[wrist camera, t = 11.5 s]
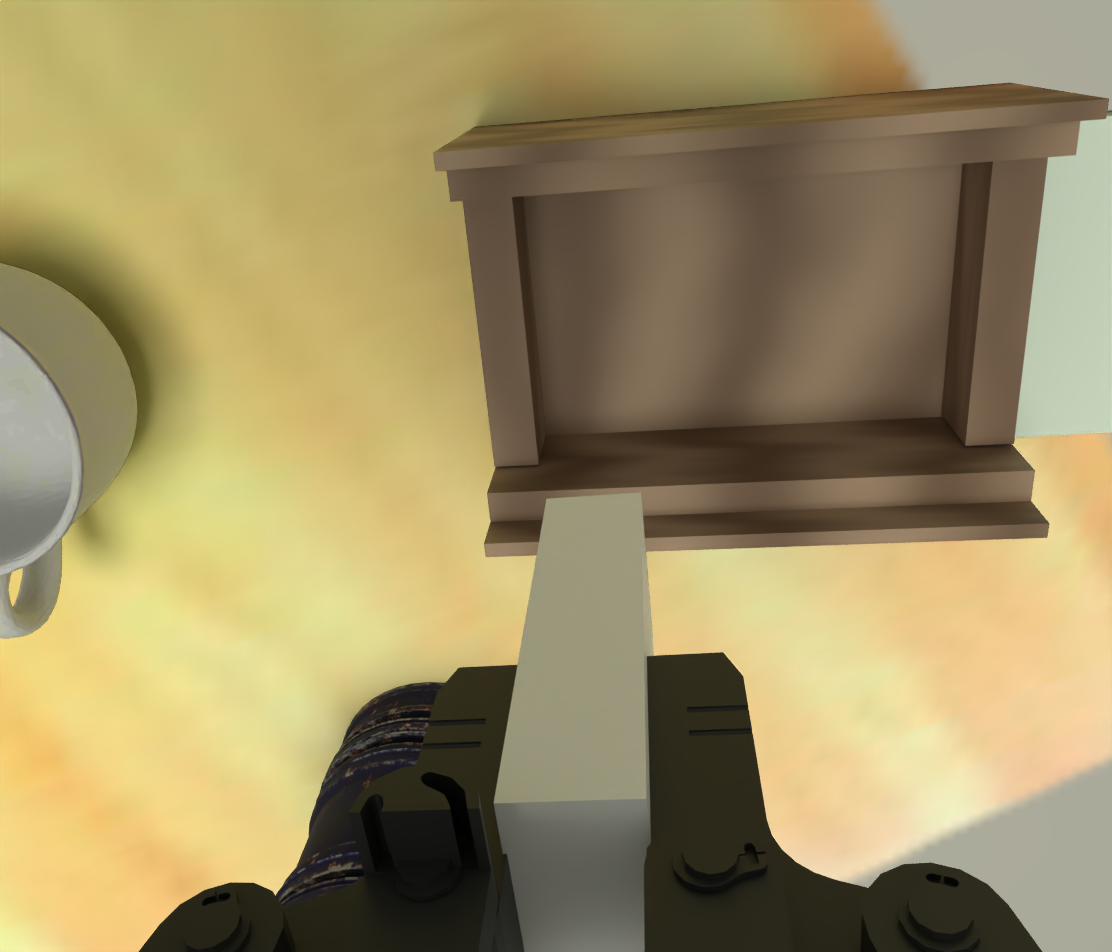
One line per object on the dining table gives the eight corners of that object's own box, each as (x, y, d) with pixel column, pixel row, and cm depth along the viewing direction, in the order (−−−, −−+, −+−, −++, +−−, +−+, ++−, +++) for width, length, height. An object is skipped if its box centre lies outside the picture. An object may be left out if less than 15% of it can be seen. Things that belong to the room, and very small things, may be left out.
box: (512, 464, 40) (485, 556, 33) (474, 127, 34) (433, 152, 27) (973, 443, 38) (1047, 537, 31) (1009, 82, 32) (1109, 98, 26)
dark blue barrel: (312, 696, 46) (172, 980, 32) (514, 664, 44) (458, 950, 30) (377, 854, 49) (278, 1166, 36) (566, 830, 48) (536, 1149, 34)
